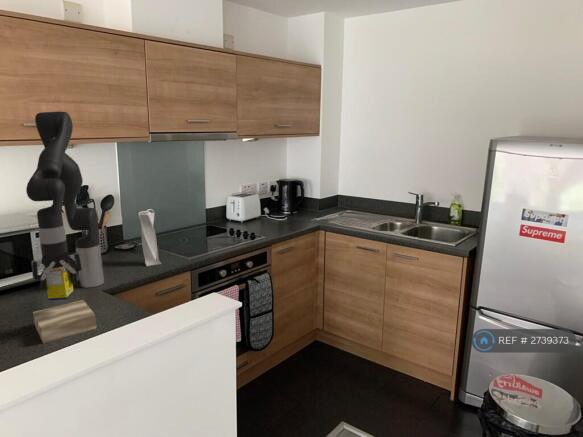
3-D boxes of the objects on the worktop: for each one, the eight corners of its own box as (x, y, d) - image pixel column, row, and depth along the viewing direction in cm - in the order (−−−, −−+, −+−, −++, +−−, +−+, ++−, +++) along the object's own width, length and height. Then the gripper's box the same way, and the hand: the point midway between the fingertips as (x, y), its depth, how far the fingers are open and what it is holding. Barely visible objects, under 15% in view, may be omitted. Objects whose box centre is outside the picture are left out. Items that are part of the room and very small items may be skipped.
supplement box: (73, 292, 150) (69, 262, 147) (67, 299, 144) (62, 268, 141) (55, 293, 149) (51, 263, 146) (48, 300, 143) (43, 269, 141)
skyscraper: (162, 265, 211) (157, 208, 205) (144, 268, 208) (139, 210, 201) (158, 260, 219) (154, 206, 212) (142, 263, 215) (136, 207, 209)
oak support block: (34, 325, 149) (32, 312, 148) (84, 312, 159) (83, 299, 158) (43, 343, 137) (40, 328, 136) (96, 328, 147) (94, 314, 146)
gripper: (74, 234, 149) (80, 279, 152) (26, 241, 140) (33, 288, 144) (79, 238, 143) (85, 285, 146) (29, 246, 134) (37, 295, 138)
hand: (59, 286), depth 145 cm, fingers closed on supplement box, 8 cm apart
